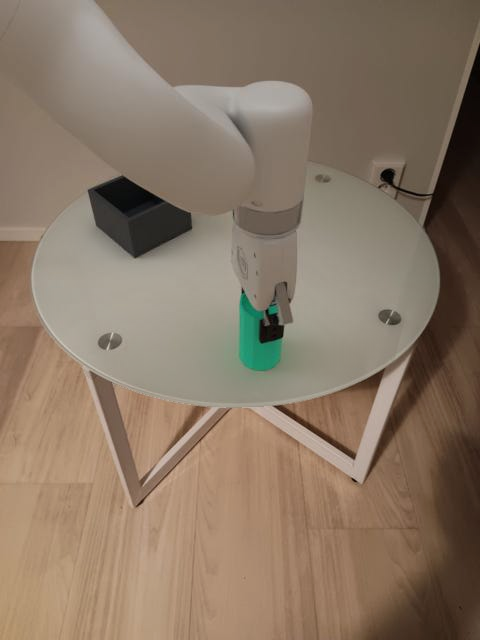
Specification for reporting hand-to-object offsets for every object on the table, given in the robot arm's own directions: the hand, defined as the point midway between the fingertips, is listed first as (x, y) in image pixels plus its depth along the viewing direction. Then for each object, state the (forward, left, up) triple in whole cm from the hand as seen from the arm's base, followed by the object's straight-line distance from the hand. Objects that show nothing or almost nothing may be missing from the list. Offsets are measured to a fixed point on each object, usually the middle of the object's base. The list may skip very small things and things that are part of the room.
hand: (261, 320), depth 68 cm
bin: (+5, +36, -7) cm, 37 cm away
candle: (0, 0, -7) cm, 7 cm away
